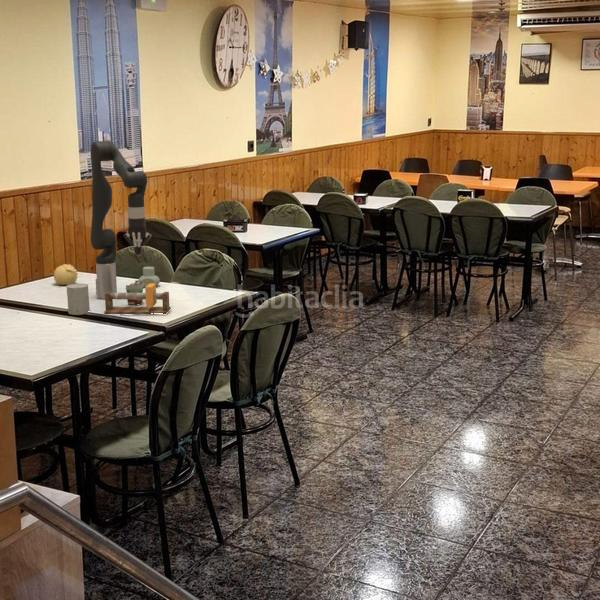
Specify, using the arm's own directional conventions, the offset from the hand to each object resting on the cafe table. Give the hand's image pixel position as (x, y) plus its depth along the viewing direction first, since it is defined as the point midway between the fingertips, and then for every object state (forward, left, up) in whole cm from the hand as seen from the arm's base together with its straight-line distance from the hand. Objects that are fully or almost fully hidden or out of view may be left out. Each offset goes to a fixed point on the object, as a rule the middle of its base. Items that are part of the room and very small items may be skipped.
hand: (138, 254), depth 389 cm
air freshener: (-7, +50, -26) cm, 56 cm away
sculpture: (-52, +55, -26) cm, 80 cm away
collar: (+6, -5, -22) cm, 23 cm away
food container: (-4, +12, -26) cm, 29 cm away
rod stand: (0, -5, -25) cm, 26 cm away
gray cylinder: (-27, -5, -26) cm, 38 cm away
